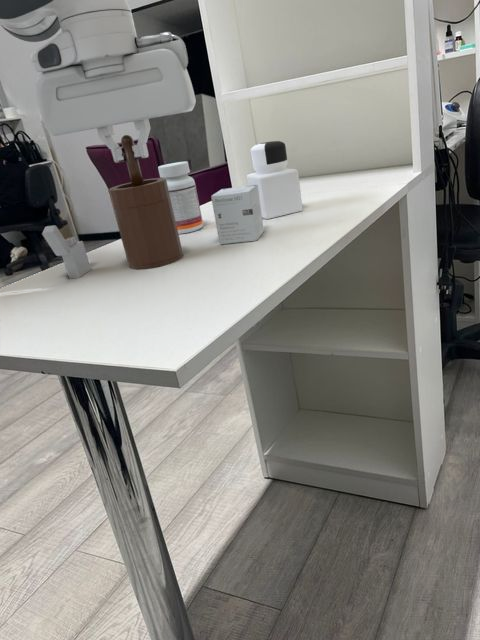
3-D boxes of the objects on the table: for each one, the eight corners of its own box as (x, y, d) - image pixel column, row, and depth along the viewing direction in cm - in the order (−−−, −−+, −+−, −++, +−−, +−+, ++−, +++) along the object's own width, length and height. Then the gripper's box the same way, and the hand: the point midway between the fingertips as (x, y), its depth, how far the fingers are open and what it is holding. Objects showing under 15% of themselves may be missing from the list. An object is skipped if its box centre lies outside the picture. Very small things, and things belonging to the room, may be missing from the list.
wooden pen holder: (121, 272, 76) (99, 193, 72) (139, 256, 84) (120, 183, 79) (175, 265, 75) (156, 184, 71) (188, 249, 82) (172, 175, 78)
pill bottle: (174, 228, 100) (160, 164, 95) (207, 223, 99) (193, 159, 94) (166, 236, 94) (150, 169, 89) (200, 231, 93) (186, 163, 88)
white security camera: (287, 206, 101) (278, 138, 96) (303, 210, 95) (294, 138, 90) (252, 214, 99) (240, 146, 94) (266, 219, 93) (254, 146, 88)
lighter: (81, 270, 81) (64, 217, 78) (91, 268, 81) (75, 215, 78) (58, 285, 75) (39, 228, 72) (70, 284, 75) (51, 227, 72)
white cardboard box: (219, 245, 82) (209, 195, 79) (228, 235, 87) (219, 188, 84) (258, 240, 80) (249, 190, 77) (265, 230, 86) (257, 183, 82)
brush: (135, 241, 77) (108, 138, 71) (143, 235, 80) (117, 136, 74) (159, 237, 76) (133, 133, 70) (166, 231, 79) (142, 131, 73)
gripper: (188, 30, 69) (210, 145, 75) (41, 61, 72) (73, 168, 78) (175, 25, 63) (200, 150, 69) (17, 59, 67) (53, 174, 72)
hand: (131, 160), depth 73 cm, fingers closed on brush
